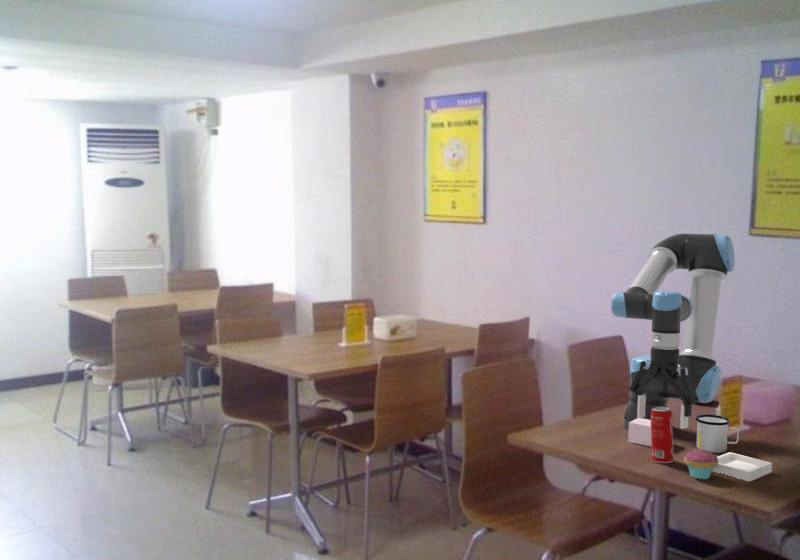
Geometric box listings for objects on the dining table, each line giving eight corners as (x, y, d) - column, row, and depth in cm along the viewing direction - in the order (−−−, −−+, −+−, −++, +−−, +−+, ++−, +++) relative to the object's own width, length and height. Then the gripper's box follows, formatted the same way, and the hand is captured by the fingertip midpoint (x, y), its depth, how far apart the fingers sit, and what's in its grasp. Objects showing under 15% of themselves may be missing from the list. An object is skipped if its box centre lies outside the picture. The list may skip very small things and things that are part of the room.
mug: (696, 452, 231) (697, 421, 230) (692, 442, 240) (693, 413, 240) (740, 455, 228) (741, 424, 227) (735, 445, 237) (736, 416, 237)
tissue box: (628, 441, 241) (628, 421, 241) (638, 436, 246) (638, 416, 246) (660, 448, 235) (660, 427, 234) (669, 443, 240) (670, 422, 239)
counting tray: (706, 469, 216) (706, 460, 216) (729, 460, 224) (729, 452, 224) (749, 481, 207) (749, 472, 207) (771, 472, 215) (772, 463, 214)
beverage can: (674, 464, 220) (676, 411, 219) (650, 463, 222) (651, 410, 220) (671, 458, 226) (673, 406, 225) (647, 456, 227) (649, 405, 226)
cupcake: (678, 471, 215) (679, 427, 214) (708, 470, 216) (710, 427, 215) (692, 482, 206) (694, 437, 205) (723, 481, 207) (725, 436, 206)
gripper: (618, 342, 228) (616, 415, 230) (699, 355, 209) (695, 434, 210) (634, 339, 233) (631, 411, 234) (714, 352, 213) (710, 430, 215)
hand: (662, 422), depth 222 cm, fingers open, 13 cm apart
